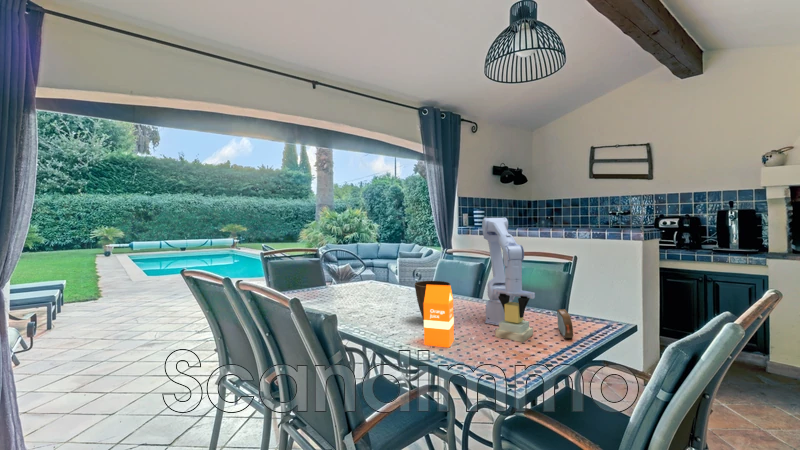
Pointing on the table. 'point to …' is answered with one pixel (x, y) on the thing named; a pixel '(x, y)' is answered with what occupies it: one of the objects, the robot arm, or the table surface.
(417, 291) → the plant pot
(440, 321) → the orange juice
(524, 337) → the oak plinth
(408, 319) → the table surface
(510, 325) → the sage top slab
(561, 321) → the tin
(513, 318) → the mustard block
